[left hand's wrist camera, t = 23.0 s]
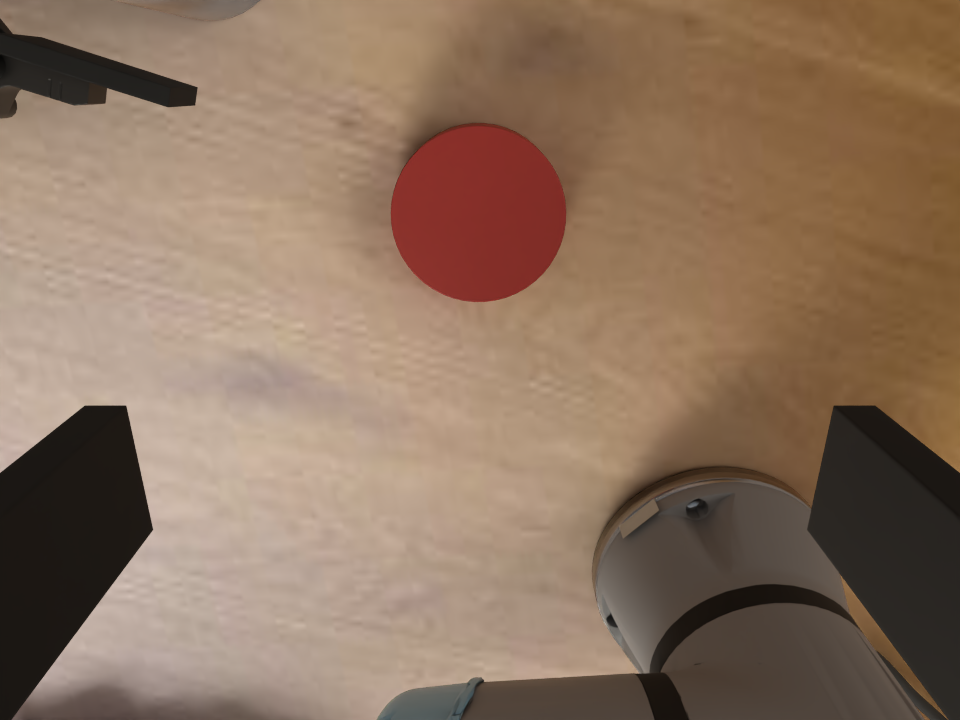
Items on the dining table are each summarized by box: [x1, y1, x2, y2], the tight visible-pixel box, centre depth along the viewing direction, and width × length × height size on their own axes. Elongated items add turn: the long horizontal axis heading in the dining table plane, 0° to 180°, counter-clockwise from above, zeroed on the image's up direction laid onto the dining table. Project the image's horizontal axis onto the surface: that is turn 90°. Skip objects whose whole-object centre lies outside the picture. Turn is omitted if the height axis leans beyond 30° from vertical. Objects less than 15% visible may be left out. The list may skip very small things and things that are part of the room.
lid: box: [391, 123, 566, 302], centre depth 35 cm, size 9×9×2 cm
